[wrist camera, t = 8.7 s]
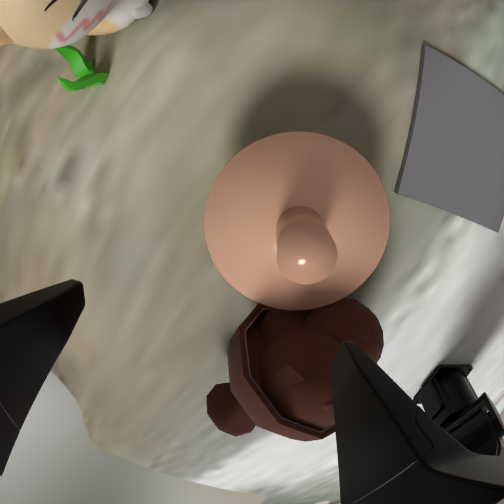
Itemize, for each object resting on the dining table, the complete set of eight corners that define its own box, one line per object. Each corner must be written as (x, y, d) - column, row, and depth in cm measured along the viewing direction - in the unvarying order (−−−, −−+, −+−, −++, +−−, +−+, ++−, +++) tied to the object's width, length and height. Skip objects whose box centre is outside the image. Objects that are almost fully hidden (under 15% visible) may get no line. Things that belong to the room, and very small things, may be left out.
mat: (519, 111, 14) (523, 111, 13) (494, 230, 19) (498, 232, 18) (422, 46, 14) (425, 44, 13) (394, 191, 19) (397, 193, 18)
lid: (404, 159, 14) (444, 170, 10) (354, 313, 18) (370, 358, 14) (221, 115, 14) (202, 109, 10) (198, 286, 18) (179, 329, 14)
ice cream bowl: (195, 338, 27) (297, 227, 19) (285, 386, 29) (397, 307, 21) (158, 432, 17) (293, 347, 10) (274, 475, 19) (429, 416, 12)
